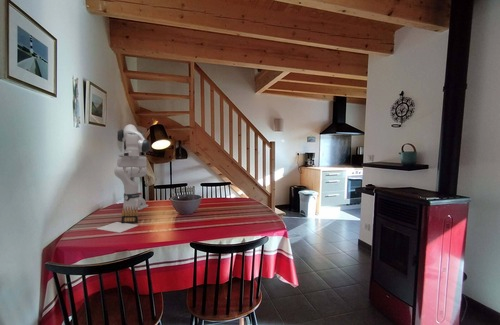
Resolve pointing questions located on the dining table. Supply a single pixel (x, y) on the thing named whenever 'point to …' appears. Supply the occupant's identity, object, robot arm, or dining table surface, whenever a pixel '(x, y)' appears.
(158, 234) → the dining table surface
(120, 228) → the mat
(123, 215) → the ammunition clip
